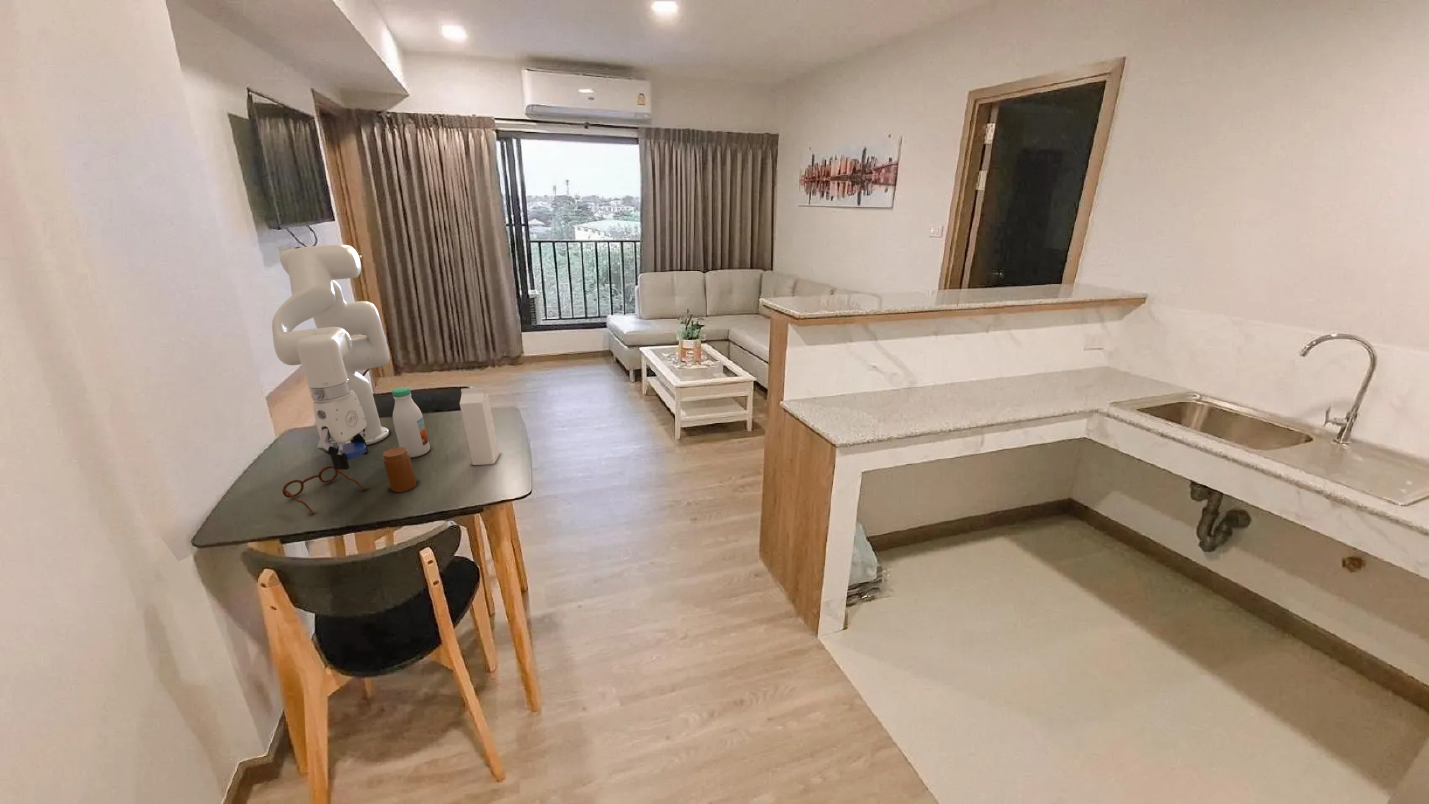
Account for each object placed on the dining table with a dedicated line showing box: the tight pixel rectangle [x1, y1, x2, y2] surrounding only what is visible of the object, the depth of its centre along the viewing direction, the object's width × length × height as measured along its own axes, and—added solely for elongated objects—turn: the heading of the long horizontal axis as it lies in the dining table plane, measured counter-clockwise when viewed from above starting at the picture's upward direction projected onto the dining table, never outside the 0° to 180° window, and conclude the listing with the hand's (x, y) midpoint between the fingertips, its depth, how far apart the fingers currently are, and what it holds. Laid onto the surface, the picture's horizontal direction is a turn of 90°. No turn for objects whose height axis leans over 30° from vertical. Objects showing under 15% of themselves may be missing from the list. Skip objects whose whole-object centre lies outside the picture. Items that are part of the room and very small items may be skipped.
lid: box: [335, 442, 366, 461], centre depth 130 cm, size 7×7×2 cm
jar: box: [382, 446, 418, 493], centre depth 144 cm, size 6×6×10 cm
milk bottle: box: [391, 386, 431, 458], centre depth 161 cm, size 8×8×20 cm
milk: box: [459, 387, 500, 466], centre depth 155 cm, size 6×6×22 cm
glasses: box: [281, 465, 366, 515], centre depth 142 cm, size 13×13×5 cm
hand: (352, 460), depth 131 cm, fingers closed on lid, 6 cm apart
